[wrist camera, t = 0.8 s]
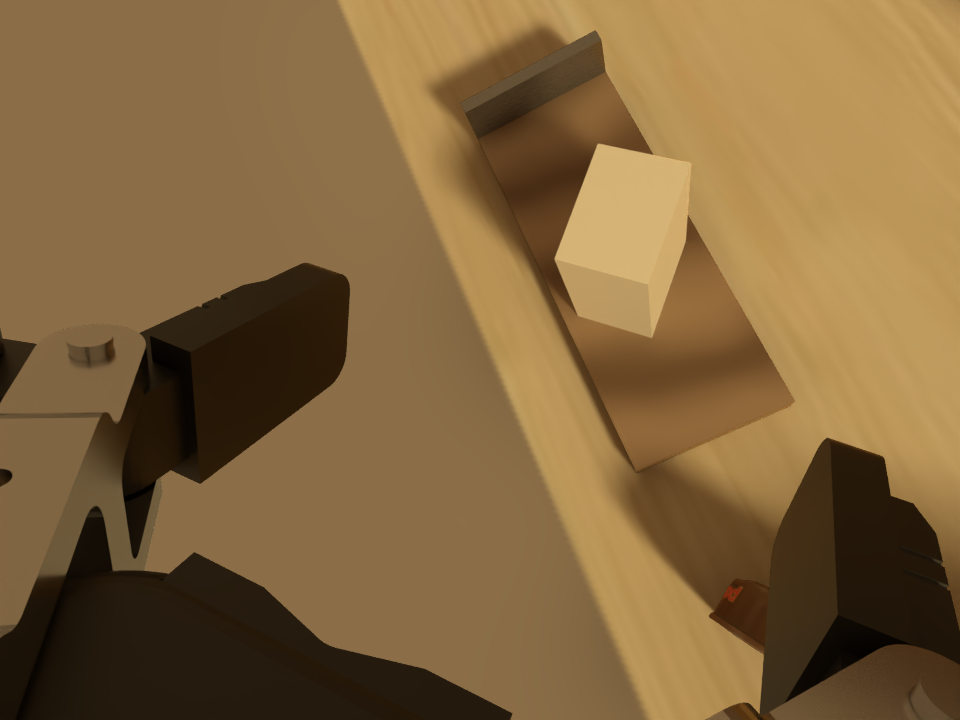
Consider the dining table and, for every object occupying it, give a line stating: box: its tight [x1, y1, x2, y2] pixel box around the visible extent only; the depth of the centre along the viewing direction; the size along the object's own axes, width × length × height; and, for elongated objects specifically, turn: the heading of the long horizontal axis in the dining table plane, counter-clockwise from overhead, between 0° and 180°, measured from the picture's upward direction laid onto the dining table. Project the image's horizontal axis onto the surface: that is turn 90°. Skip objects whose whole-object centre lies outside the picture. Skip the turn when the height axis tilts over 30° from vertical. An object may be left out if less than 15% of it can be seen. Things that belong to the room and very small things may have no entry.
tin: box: [709, 579, 769, 654], centre depth 30 cm, size 15×3×8 cm, turn 57°
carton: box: [554, 144, 691, 338], centre depth 35 cm, size 6×4×9 cm
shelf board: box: [478, 72, 795, 472], centre depth 41 cm, size 24×9×2 cm, turn 23°
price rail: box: [461, 30, 606, 139], centre depth 42 cm, size 1×9×3 cm, turn 113°
